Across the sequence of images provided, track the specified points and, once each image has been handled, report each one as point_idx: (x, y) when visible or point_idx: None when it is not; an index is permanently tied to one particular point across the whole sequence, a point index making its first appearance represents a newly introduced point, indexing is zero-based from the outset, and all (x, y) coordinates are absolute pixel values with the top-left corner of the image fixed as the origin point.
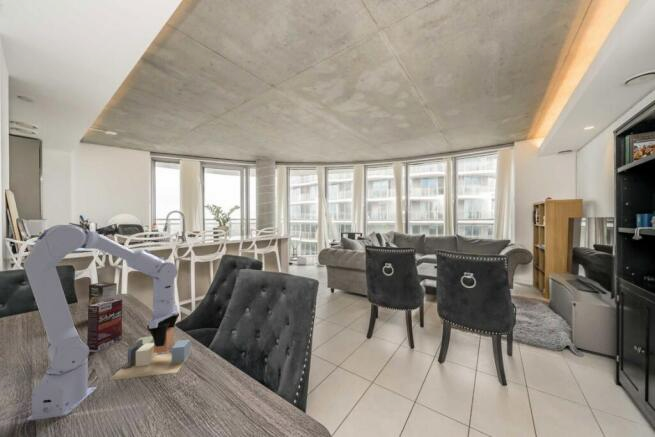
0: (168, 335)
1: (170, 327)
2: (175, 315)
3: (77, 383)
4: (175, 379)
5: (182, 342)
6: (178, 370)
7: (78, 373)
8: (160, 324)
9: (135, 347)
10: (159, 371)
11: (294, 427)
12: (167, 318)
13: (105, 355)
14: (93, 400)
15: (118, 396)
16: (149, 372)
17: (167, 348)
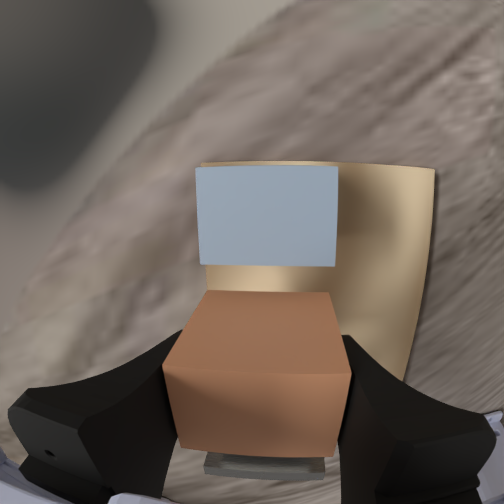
0: (304, 352)
1: (167, 390)
2: (84, 449)
3: (487, 464)
4: (463, 164)
5: (244, 213)
6: (417, 167)
7: (496, 485)
8: (447, 499)
9: (277, 463)
10: (399, 268)
11: None
12: (133, 486)
13: (185, 486)
14: (469, 399)
15: (488, 342)
16: (393, 313)
17: (317, 299)
